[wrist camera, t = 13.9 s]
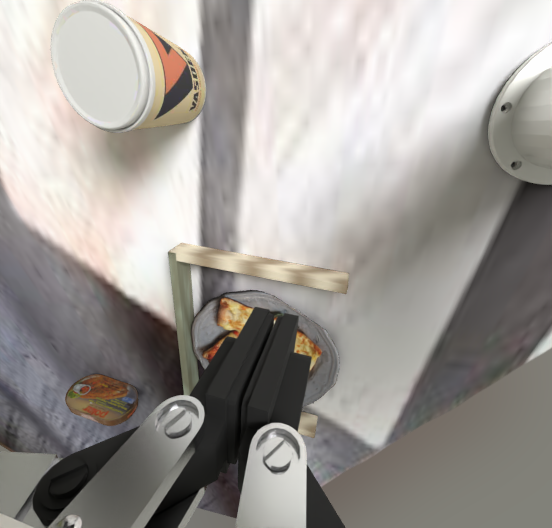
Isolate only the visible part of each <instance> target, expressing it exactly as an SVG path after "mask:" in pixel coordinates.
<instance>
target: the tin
mask: <svg viewBox="0 0 552 528" xmlns="http://www.w3.org/2000/svg"><path fill="white" fill-rule="evenodd" d="M65 401H66V404H67V406H68V407H69V409H70V411H71V412H72V413H74V414H76V415H79V416H82V417H84V418H87V419H90V420H93V421H95V422H98V423H101V424H103V425H107V426H114V425H118V424H121V423H123V422H124V421H126V420H127V419H129V418H130V417H131V416H132V414H133V413H134V412H135V410H136V408H137V406H138V393H137V390H136V388H135V387H134V386H132V385H130V384H127V383H124V382H121V381H118V380H115V379H112V378H110V377H107V376H104V375H100V374H94V375H89V376H86V377H84V378H82V379H80V380H78V381H77V382H75V383H74V384H73V385H72V386H71V387H70V388H69V390H68V392H67V393H66V397H65Z"/></svg>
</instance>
